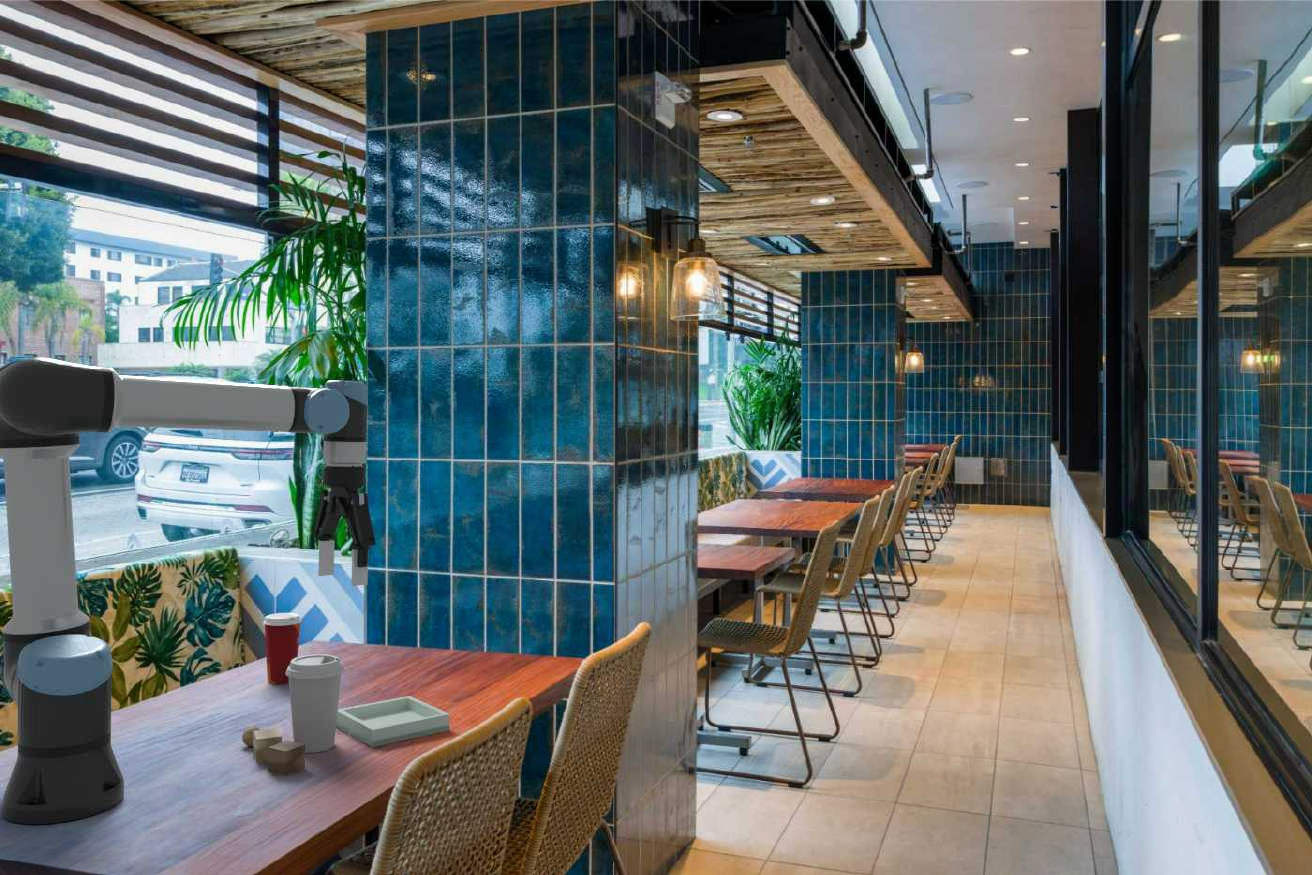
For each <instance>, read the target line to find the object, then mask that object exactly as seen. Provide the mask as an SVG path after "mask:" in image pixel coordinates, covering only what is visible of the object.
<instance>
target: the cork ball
mask: <svg viewBox="0 0 1312 875" xmlns="http://www.w3.org/2000/svg"><path fill="white" fill-rule="evenodd" d="M256 730H261V729H260V728H258V727H257V726H250V727H248V728H246V729H245V730H244V731H243V733H242V736H241V740H242V742H243V744H244V745H245V746H248V747H253V731H256Z"/></svg>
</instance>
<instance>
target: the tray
mask: <svg viewBox="0 0 1312 875" xmlns="http://www.w3.org/2000/svg"><path fill="white" fill-rule="evenodd" d="M450 716H451V715H450V713H448V712H446V711H444V710H442V709H440V708H437V707H435V706H433V705H431V704H429V703H426V702H424V701H422V700H419V699H418V698H415V697H413V696H411V695H407V696H402V697H397V698H392V699H386V700H385V699H384V700H380V701H376V702H375V701H374V702H370V703H365V704H364V703H363V704H360V705H356V706H349V707H348V706H347V707H345V708H344V707H343V708H338V711H337V721H336V729H339V730H341V731H343V732H344V733H346V734H348V735H350V736H351V737H353V738H355V739H357V740H358V741H360V742H362V743H364V744H366V745H367V746H369V747H371V748H375V747H381V746H386V745H390V744H394V743H398V742H402V741H406V740H411V739H416V738H421V737H425V736H430V735H434V734H439V733H442V732H448V731H450V720H451V719H450V718H451V717H450Z"/></svg>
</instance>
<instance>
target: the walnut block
mask: <svg viewBox="0 0 1312 875" xmlns="http://www.w3.org/2000/svg"><path fill="white" fill-rule="evenodd" d="M305 769H306V753H305V744H302V743H297V742H294V740H293V741H292V740H289V739H288V740H284V741H282V742H281V743H278V744H275V745H273V746H270V747H268V762H267V772H268V773H271V774H276V775H279V776H284V777H288V776H289V775H292V774H294V773H298V772H301V771H302V770H305Z"/></svg>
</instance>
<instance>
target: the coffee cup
mask: <svg viewBox="0 0 1312 875" xmlns="http://www.w3.org/2000/svg"><path fill="white" fill-rule="evenodd" d="M344 668H345V667H344V665H343V663H342V662H341V660H340V657H338V656H336V655H333V654H323V653H322V654H317V653H316V654H307V655H301V656H298V657H297V658H294V659H292V660H291V662H290V666H288V668H287V670H286V676H288V677H289V683H288V686H289V697H290V698H289V699H290V712H291V713H290V714H291V724H292V725H291V726H292V737H293V742H297V743H302V744H305V754H314V753H321V752H322V753H323V752H325V751H328V750H330V749H333V747H334V746H335V738H336V729H337V727H336V721H337V711H338V709H339V698H340V689H341V679H342V674H343V673H344V672H345V669H344Z"/></svg>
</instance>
